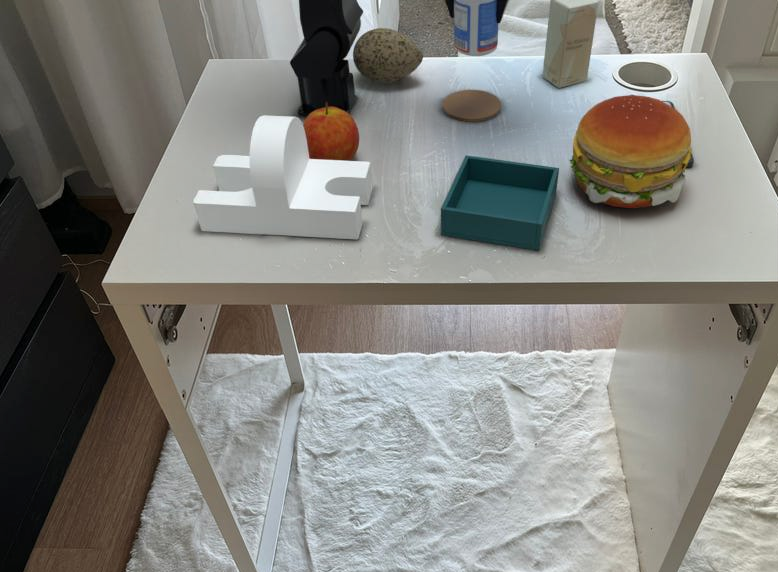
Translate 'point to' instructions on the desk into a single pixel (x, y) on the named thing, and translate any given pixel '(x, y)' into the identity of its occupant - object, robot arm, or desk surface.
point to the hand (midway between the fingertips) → (475, 19)
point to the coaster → (471, 105)
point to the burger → (631, 152)
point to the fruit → (331, 134)
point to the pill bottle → (475, 26)
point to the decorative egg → (386, 55)
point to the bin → (500, 202)
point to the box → (569, 41)
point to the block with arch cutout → (285, 188)
